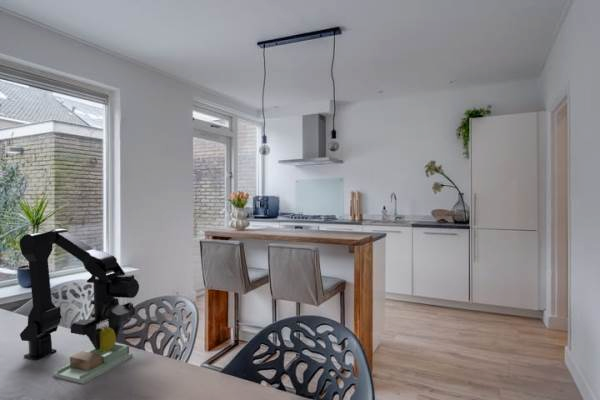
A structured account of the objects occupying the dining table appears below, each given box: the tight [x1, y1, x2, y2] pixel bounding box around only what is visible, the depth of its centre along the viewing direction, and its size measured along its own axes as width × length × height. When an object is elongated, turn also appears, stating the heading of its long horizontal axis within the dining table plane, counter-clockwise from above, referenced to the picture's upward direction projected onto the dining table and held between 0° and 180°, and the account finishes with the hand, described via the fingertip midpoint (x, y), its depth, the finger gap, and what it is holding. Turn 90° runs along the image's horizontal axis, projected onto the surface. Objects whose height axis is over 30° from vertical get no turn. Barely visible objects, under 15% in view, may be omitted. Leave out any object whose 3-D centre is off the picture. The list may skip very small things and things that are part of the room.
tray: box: [52, 342, 134, 385], centre depth 107 cm, size 12×17×3 cm
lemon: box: [99, 326, 117, 352], centre depth 111 cm, size 6×6×8 cm
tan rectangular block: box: [69, 350, 102, 371], centre depth 104 cm, size 8×4×3 cm, turn 69°
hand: (105, 345), depth 111 cm, fingers closed on lemon, 5 cm apart
